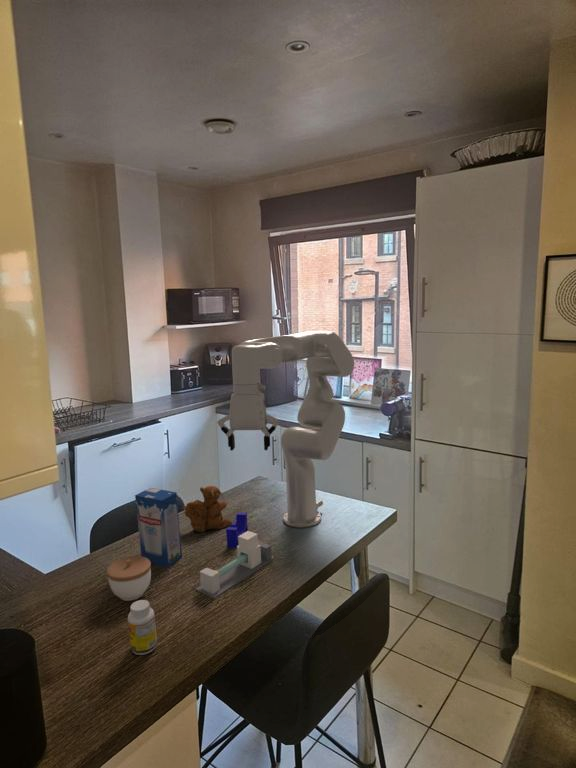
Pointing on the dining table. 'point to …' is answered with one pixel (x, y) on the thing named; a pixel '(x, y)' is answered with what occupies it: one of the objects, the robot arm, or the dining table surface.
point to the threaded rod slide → (230, 573)
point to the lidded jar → (129, 577)
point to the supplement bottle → (142, 628)
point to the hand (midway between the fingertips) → (249, 449)
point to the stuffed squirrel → (207, 511)
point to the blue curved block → (236, 530)
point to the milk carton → (159, 526)
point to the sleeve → (249, 549)
